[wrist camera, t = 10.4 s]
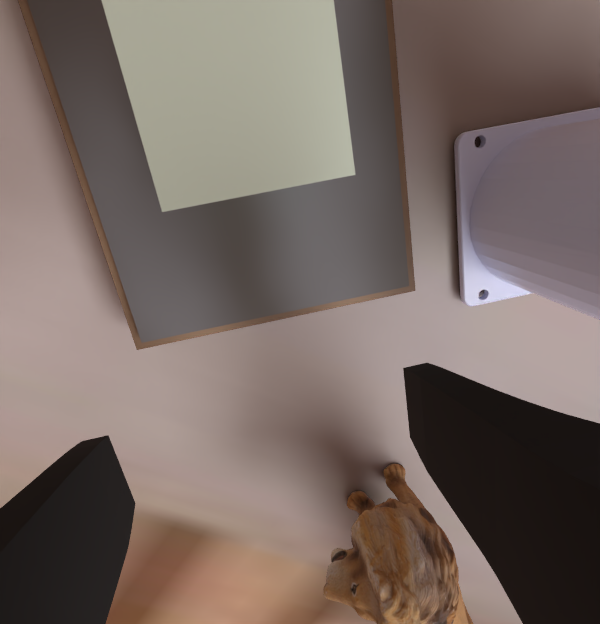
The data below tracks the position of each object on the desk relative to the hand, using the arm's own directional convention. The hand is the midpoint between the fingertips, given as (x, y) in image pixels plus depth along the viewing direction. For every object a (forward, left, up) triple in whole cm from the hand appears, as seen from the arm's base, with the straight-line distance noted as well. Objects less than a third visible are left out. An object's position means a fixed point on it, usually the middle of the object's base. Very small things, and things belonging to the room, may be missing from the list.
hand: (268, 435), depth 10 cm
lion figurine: (-5, +15, -10) cm, 19 cm away
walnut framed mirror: (-1, -8, -10) cm, 13 cm away
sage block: (-1, -8, -7) cm, 11 cm away
